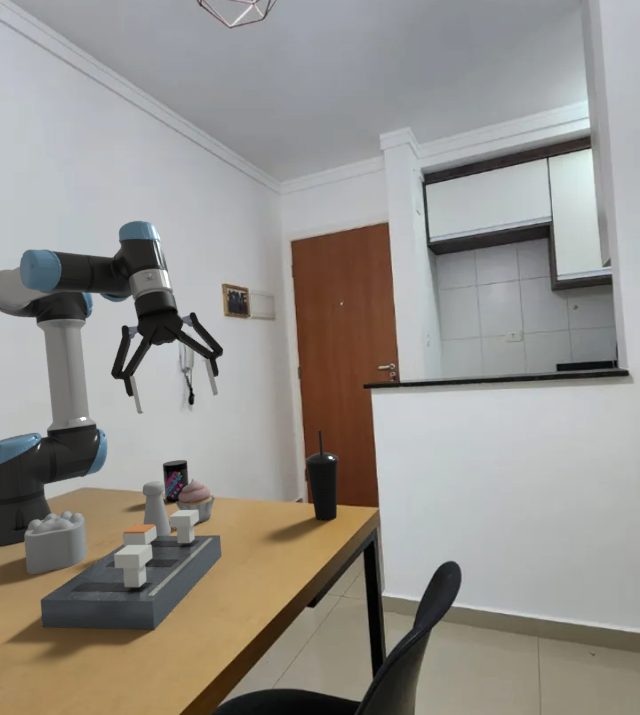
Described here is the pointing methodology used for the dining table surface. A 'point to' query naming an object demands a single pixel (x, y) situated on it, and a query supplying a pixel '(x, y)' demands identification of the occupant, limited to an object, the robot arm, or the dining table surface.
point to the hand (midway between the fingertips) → (178, 403)
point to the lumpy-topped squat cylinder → (55, 542)
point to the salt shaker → (156, 508)
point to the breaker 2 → (184, 524)
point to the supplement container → (175, 479)
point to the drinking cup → (323, 483)
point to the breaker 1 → (133, 563)
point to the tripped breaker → (139, 535)
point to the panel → (131, 604)
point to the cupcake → (196, 499)
